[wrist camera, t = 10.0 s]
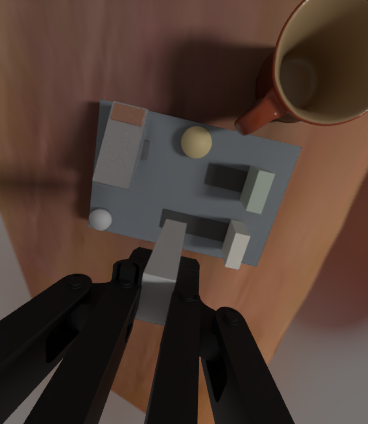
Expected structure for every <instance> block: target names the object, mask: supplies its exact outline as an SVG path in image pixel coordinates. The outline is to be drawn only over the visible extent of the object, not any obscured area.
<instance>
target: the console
mask: <svg viewBox="0 0 368 424" xmlns="http://www.w3.org/2000/svg"><path fill="white" fill-rule="evenodd" d="M112 103H113V102H109V101H105V100H101V99H100V107H99V118H98V128H97V139H96V150H95V160H94V171H93V176H94V172H95V168H96V164H97V160H98V157H99V153H100V149H101V145H102V141H103V138H104V134H105V130H106V126H107V122H108V119H109V115H110V111H111V107H112ZM149 114H150V121H149V125H148V129H147V133H146V137H145V141H144V145H143V149H142V153H141V157H140V161H139V165H138V169H137V173H136V177H135V181H134V185H133V189H132V191H127V190H123V189H119V188H115V187H110V186H106V185H102V184H98V183H96V182H94V181H93V182H92V192H91V203H90V214H89V224H88V227H91V228H95V229H97V230H104V231H108V232H113V233H117V234H121V235H125V236H129V237H134V238H138V239H142V240H146V241H151V242H155V243H156V242H157V240H158V238H159V235H160V233H161V231H162V228H163V226H164V223H165V221H166V219H169V220H174V221H178V222H182V223H187V226H186V231H185V236H184V242H183V247H182V249H185V250H189V251H193V252H197V253H201V254H206V255H210V256H214V257H218V258H223V253H222V247H223V243H224V240H225V237H226V234H227V231H228V227H229V224H230V221H231V219H232V220H236V221H240V222H244V224H245V226H246V229H247V231H248V233H249V235H250V239H249V242H248V245H247V247H246V250H245V253H244V256H243V259H242V262H241V263H244V264H248V265H252V266H257V264H258V262H259V259H260V256H261V254H262V251H263V248H264V246H265V243H266V240H267V238H268V235H269V232H270V230H271V227H272V225H273V222H274V219H275V217H276V214H277V211H278V209H279V206H280V203H281V201H282V198H283V195H284V193H285V190H286V188H287V185H288V182H289V180H290V177H291V174H292V172H293V169H294V166H295V164H296V161H297V158H298V156H299V153H300V151H301V148H302V147H299V146H295V145H291V144H286V143H282V142H278V141H274V140H270V139H265V138H261V137H257V136H253V135H246V136H243V135H241V134H239V132H236V131H232V130H227V129H223V128H219V127H215V126H211V125H206V124H202V123H198V122H194V121H189V120H185V119H181V118H177V117H173V116H168V115H164V114H160V113H156V112H151V111H149ZM250 165H252V166H256V167H260V168H264V169H266V170H268V171H270V172H272V173H274V174H275V176H274V179H273V182H272V185H271V188H270V190H269V193H268V196H267V199H266V202H265V204H264V207H263V210H262V213H261V214H258V213H254V212H250V211H246V210H245V208H244V206H243V205H242V203H241V201H240V197H241V194H242V191H243V187H244V184H245V181H246V178H247V175H248V172H249V168H250Z"/></svg>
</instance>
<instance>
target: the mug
mask: <svg viewBox="0 0 368 424" xmlns="http://www.w3.org/2000/svg"><path fill="white" fill-rule="evenodd" d="M255 92H256V101H255V103H254V104H253V105H252V106H251V108H250V109H249V110H248V111H247V112H246V113H244V114H243V115H242V116H241V117H239V118H238V119H237V120H236V121H235V123H234V125H235V128H236V129H237V131H238V132H239V134H241V135H243V136H246V135H249V134H251V133H253V132H255V131H256V130H258V129H259V128H261V127H262V126H264V125H265V124H267V123H268V122H270V121H272V120H275V121H279V122H283V123H296V122H300V121H303V122H306V123H309V124H313V125H319V126H332V125H339V124H343V123H346V122H349V121H352V120H354V119H356V118H358V117H360V116H362V115H363V114H365V113H367V112H368V0H303V1H302V2H301V3H300V4H299V5H298V6H297V7H296V8H295V10H294V11H293V12H292V13H291V15H290V16H289V18H288V19H287V21H286V23H285V25H284V26H283V28H282V30H281V33H280V35H279V37H278V40H277V43H276V47H275V50H274V51H273V52H272V53H271V54H270V55H269V56H268V57H267V59H266V60H265V61H264V63H263V65H262V67H261V69H260V72H259V75H258V77H257V79H256V90H255Z"/></svg>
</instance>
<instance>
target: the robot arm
mask: <svg viewBox="0 0 368 424" xmlns="http://www.w3.org/2000/svg"><path fill="white" fill-rule="evenodd" d="M186 226H187V223H182V222H178V221H174V220H169V219H166V221H165V223H164V226H163V228H162V231H161V233H160V235H159V238H158V240H157V242H156V245H155V247H154V249H153V250H150V249H146V248H141V247H138V248H137V249H135V250H133V252H132V254H131V255H130V257H129V259H125V260H120V261H117V262H116V263H115V264H114V265H113V273H112V280H111V281H110V282H107V283H92V280H91V278H90V277H88V276H87V275H84V274H71V275H68V276H66V277H64V278H62V279H61V280H59V281H58V282H56V283H55V284H53V285H52V286H50V287H49V288H47V289H46V290H44V291H43V292H41V293H40V294H39V295H37V296H36V297H34V298H33V299H31V300H30V301H28V302H27V303H25V304H24V305H22V306H21V307H19V308H18V309H17V310H15V311H14V312H12V313H11V314H9V315H8V316H6V317H5V318H3V319H2V320H0V424H3V423H4V422H5V420H6V419H7V418H8V417H9V416H10V415H11V414H12V413H13V412H14V411H15V410H16V409H17V407H18V406H19V405H20V404H21V403H22V402H23V401H24V400H25V399H26V398H27V397H28V396H29V395H30V393H31V392H32V391H33V390H34V389H35V388H36V387H37V386H38V385H39V384H40V383H41V382H42V380H43V379H44V378H45V377H46V376H47V375H48V374H49V373H50V372H51V371H52V370H53V368H54V367H55V366H56V365H57V364H58V363H59V362H60V361H61V360H62V359H63V360H62V361H61V363H60V365H59V367H58V368H57V370H56V372H55V373H54V375H53V376H52V378H51V379H50V381H49V383H48V384H47V386H46V388H45V389H44V391H43V393H42V394H41V396H40V397H39V399H38V401H37V402H36V404H35V406H34V407H33V409H32V411H31V412H30V414H29V415H28V417H27V419H26V420H25V422H24V424H98V423H99V420H100V417H101V414H102V412H103V409H104V406H105V403H106V401H107V398H108V395H109V392H110V389H111V387H112V384H113V381H114V378H115V375H116V373H117V370H118V367H119V364H120V362H121V359H122V356H123V353H124V350H125V348H126V345H127V342H128V339H129V336H130V334H131V331H132V328H133V322H134V318H135V316H136V318H135V319H137V320H142V321H146V322H150V323H154V324H159V325H163V326H165V327H164V331H163V335H162V339H161V343H160V349H159V354H158V359H157V364H156V369H155V374H154V378H153V383H152V388H151V393H150V398H149V402H148V407H147V412H146V417H145V422H144V424H197V418H198V381H199V356H200V357H201V362H202V367H203V371H204V376H205V380H206V385H207V389H208V394H209V398H210V403H211V407H212V412H213V416H214V421H215V424H295V423H294V421H293V419H292V417H291V415H290V413H289V411H288V409H287V407H286V405H285V402H284V400H283V398H282V396H281V394H280V392H279V390H278V388H277V386H276V384H275V382H274V380H273V378H272V375H271V373H270V371H269V369H268V367H267V365H266V363H265V361H264V359H263V357H262V354H261V352H260V350H259V348H258V346H257V344H256V342H255V340H254V338H253V336H252V334H251V331H250V329H249V327H248V325H247V323H246V321H245V319H244V318H243V316H242V315H241V314H240V313H239V312H238V311H237V310H235V309H233V308H230V307H220V308H219V309H217V311H215V310H213V309H211V308H210V307H208V306H206V305H205V304H204V303H203V302H202V301H201V299H200V296H199V269H200V265H199V263H198V261H197V260H196V259H191V258H187V257H183V256H181V252H182V247H183V242H184V236H185V231H186Z"/></svg>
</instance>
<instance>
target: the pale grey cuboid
mask: <svg viewBox="0 0 368 424" xmlns="http://www.w3.org/2000/svg"><path fill="white" fill-rule="evenodd" d="M249 239H250V235H249V233H248V231H247V229H246V226H245V224H244V222H240V221H236V220H232V219H231V221H230V224H229V227H228V231H227V234H226V237H225V240H224V243H223V247H222V253H223V259H224V264H225V267H229V268H234V269H238V270H239V267H240V264H241V262H242V259H243V256H244V253H245V250H246V247H247V245H248V242H249Z"/></svg>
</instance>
